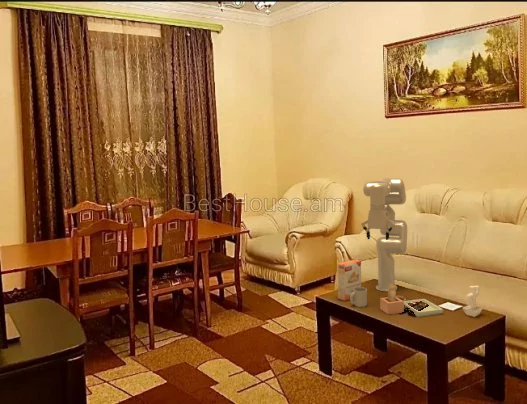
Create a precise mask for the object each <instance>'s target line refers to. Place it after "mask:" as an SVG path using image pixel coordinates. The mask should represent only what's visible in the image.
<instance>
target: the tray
mask: <svg viewBox="0 0 527 404" xmlns="http://www.w3.org/2000/svg"><path fill="white" fill-rule="evenodd" d="M403 301H404V305H405V306H407V307H408V308H410V309H411V310H412V311H413V312H414V314H415V315H414V314H413V315H414V316H416V317H417V318H421V317H428V316H429V317H430V316H439V315H443V314H444V309H443V308H441V307H440V306H438V305H436V304H435V303H432V302H431V301H429V300H427V299H425V298H420V299H412V300H411V299H410V300H403ZM420 301H422V302H425V303H427V304H428V305H429V306H428V307H426V308H424V309H423V310H421V311H418V310H416V309H414V308H413V307H411V306H409V305H408V303H411V302H420Z"/></svg>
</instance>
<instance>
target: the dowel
mask: <svg viewBox="0 0 527 404" xmlns="http://www.w3.org/2000/svg"><path fill="white" fill-rule="evenodd" d="M396 286H397V285H396V284H388V292H387V297H388V302H394V301H396V297H397V296H396V295H397V292H396V291H397V290H396Z"/></svg>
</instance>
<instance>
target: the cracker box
mask: <svg viewBox="0 0 527 404" xmlns="http://www.w3.org/2000/svg"><path fill="white" fill-rule="evenodd" d="M357 287H362V261H360V260H357V259H352V260H351V259H350V260H348V261H345V262H340V263H337V299H338V300H341V301H344V302H345V301H350V295H351V293H352V292H354V288H357ZM353 299H354V296H353Z"/></svg>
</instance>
